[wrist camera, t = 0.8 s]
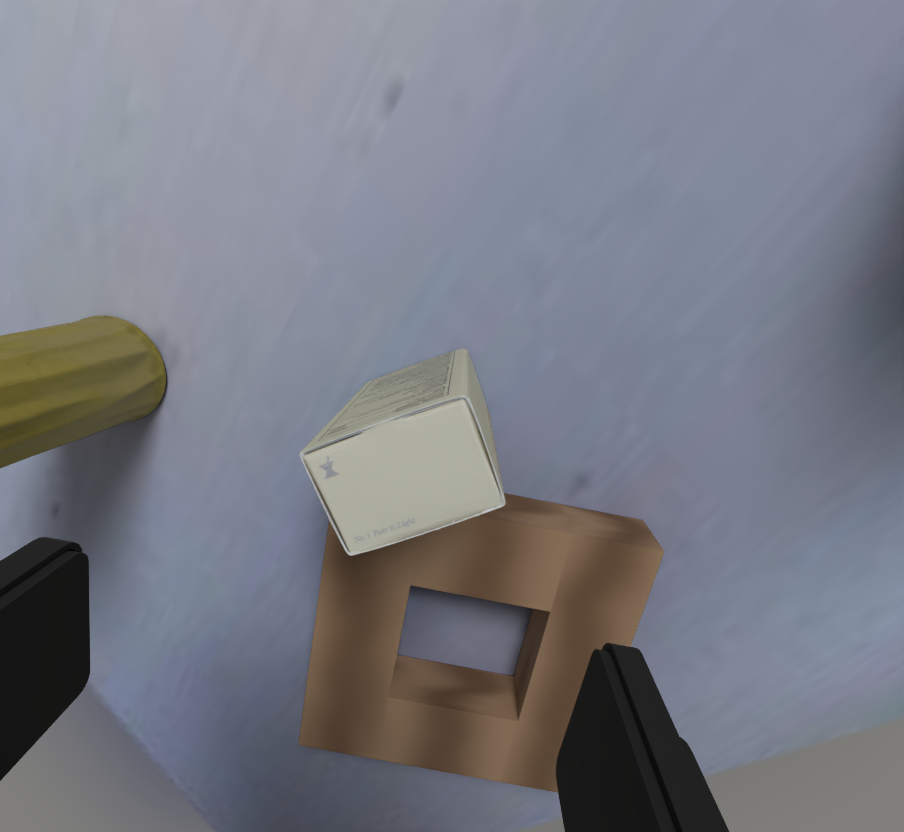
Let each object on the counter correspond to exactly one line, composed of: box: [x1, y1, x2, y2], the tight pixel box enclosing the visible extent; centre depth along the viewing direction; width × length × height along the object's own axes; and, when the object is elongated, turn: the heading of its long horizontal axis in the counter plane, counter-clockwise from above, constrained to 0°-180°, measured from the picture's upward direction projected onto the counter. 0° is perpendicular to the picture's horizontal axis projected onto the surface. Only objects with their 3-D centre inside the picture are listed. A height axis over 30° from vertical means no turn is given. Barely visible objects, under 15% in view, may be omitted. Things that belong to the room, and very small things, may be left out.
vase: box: [0, 316, 166, 468], centre depth 22 cm, size 6×6×14 cm
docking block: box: [298, 493, 664, 792], centre depth 31 cm, size 18×18×4 cm
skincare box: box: [299, 348, 506, 556], centre depth 23 cm, size 6×4×12 cm
